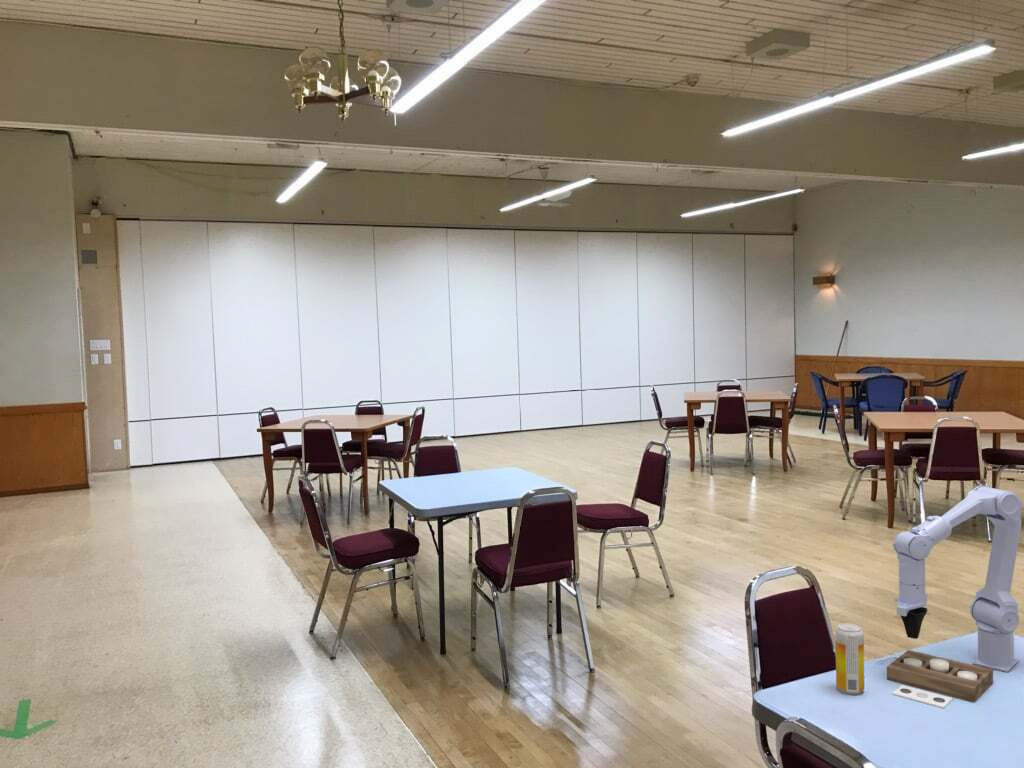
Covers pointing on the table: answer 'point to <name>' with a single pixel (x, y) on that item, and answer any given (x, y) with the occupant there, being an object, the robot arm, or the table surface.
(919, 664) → the left button
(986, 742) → the table surface
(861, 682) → the beer can
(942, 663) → the middle button
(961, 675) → the right button
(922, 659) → the button panel
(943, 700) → the card
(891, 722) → the table surface
